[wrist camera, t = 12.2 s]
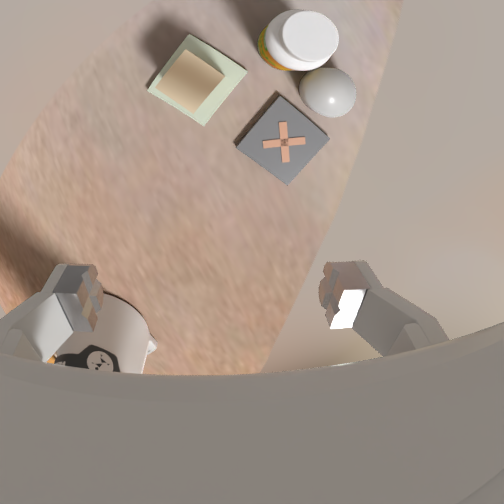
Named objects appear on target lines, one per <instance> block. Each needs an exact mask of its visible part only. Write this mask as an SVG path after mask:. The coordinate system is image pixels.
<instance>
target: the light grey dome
mask: <svg viewBox="0 0 504 504" xmlns="http://www.w3.org/2000/svg"><path fill="white" fill-rule="evenodd" d="M299 93H300V97H301V99H302V101H303V102H304V104H305V105H306V106H307V107H308V108H310V109H311V110H313V111H315V112H317V113H319V114H321V115H323V116H326V117H339V116H342V115H344V114H346V113H347V112H348V111H349V110H350V109H351V108H352V107H353V105H354V103H355V100H356V88H355V85H354V82H353V80H352V79H351V78H350V77H349V75H347V74H346V73H345V72H343V71H341V70H339V69H336V68H315V69H312V70H310V71H308V72H307V73H306V74H305V75H304V76H303V77H302V79H301V82H300V85H299Z"/></svg>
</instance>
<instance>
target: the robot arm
mask: <svg viewBox="0 0 504 504" xmlns="http://www.w3.org/2000/svg"><path fill="white" fill-rule="evenodd" d="M323 272H324V275H325V277H324V278H323V279H322V280H321V281H320V286H319V299H320V303H321V306H322V307H324V308H325V309H326V310H327V311H326V314H325V316H326V318H327V321H328V323H329V326H330V328H331V329H333V328H344V327H352V329H353V330H354V331H356V332H357V333H358V334H359V335H360V336H361V337H362V338H363V339H365V340H366V341H367V342H368V343H369V344H370V345H371V346H372V347H373V348H375V350H377V351H378V352H379V353H380V354H381V355H382V356H383V357H380V358H374V359H369V360H363V361H358V362H352V363H346V364H339V365H333V366H326V367H318V368H310V369H302V370H294V371H282V372H271V373H256V374H238V375H155V374H142V373H143V369H144V364H145V360H146V356H147V355H148V354H150V353H151V352H153V351H154V350H156V348H157V342H156V340H155V339H154V338H153V337H152V336H151V335H150V333H149V330H148V326H147V324H146V322H145V320H144V319H143V317H142V316H141V315H140V314H139V313H138V312H137V311H136V310H135V309H134V308H133V307H132V306H130V305H129V304H127V303H126V302H124V301H122V300H120V299H118V298H116V297H113V296H110V295H107V294H103V288H102V285H101V283H100V282H99V281H98V280H97V279H96V278H97V275H98V272H97V269H96V266H94V265H93V264H58V265H56V267H55V268H54V270H53V272H52V273H51V275H50V277H49V278H48V280H47V282H46V283H45V285H44V287H43V289H42V290H41V292H37V293H35V294H34V295H32V296H31V297H30V298H28V299H27V300H25V301H24V302H23V303H21V304H20V305H19V306H17V307H16V308H15V309H13V310H12V311H11V312H9V313H8V314H7V315H5V316H4V317H3V318H1V319H0V504H504V322H502V323H500V324H497V325H494V326H492V327H489V328H486V329H484V330H480V331H477V332H475V333H472V334H468V335H465V336H462V337H459V338H456V339H452V340H449V338H448V337H447V335H446V334H445V332H444V330H443V329H442V327H441V326H440V324H439V322H438V321H437V319H436V318H435V317H433V316H432V315H430V314H429V313H427V312H425V311H424V310H422V309H421V308H419V307H417V306H416V305H414V304H413V303H411V302H409V301H408V300H406V299H405V298H403V297H401V296H400V295H398V294H397V293H395V292H393V291H392V290H390V289H388V288H384V287H383V286H382V284H381V283H380V281H379V280H378V279H377V277H376V275H375V274H374V272H373V271H372V269H371V268H370V266H369V265H368V263H367V262H366V261H364V260H362V261H351V262H327V263H326V264H325V266H324V270H323ZM55 352H56V354H57V358H56V360H55V363H54V364H52V363H46V362H47V361H48V360H49V358H50V357H51V356H52V355H53V354H54V353H55Z"/></svg>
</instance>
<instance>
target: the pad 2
mask: <svg viewBox="0 0 504 504" xmlns="http://www.w3.org/2000/svg"><path fill="white" fill-rule="evenodd" d="M329 139H330V138H329V137H328V136H326V135H325V134H324V133H323V132H322V131H321V130H320V129H319V128H318V127H317V126H315V125H314V124H313V123H312V122H311V121H310V120H309V119H307V118H306V117H305V116H304V115H303V114H302V113H300V112H299V111H298V110H297V109H296V108H294V107H293V106H292V105H291V104H289V103H288V102H287V101H286V100H285V99H283V98H282V97H281V96H278V97H277V99H276V100H275V101H274V102H273V103H272V104H271V105H270V106H269V108H268V109H267V110H266V111H265V112H264V113H263V115H262V116H261V117H260V118H259V119H258V120H257V122H256V123H255V124H254V125H253V126H252V128H251V129H250V130H249V131H248V132H247V134H246V135H245V136H244V137H243V139H242V140H241V141H240V142H239V143H238V145H237V146H236V148H237V149H238V150H240V151H241V152H243V153H244V154H245V155H247V156H248V157H250V158H251V159H252V160H254V161H255V162H257V163H258V164H259V165H261V166H262V167H263V168H265V169H266V170H267V171H269V172H270V173H272V174H273V175H274V176H276V177H277V178H278V179H280V180H281V181H282V182H284V183H285V184H286V185H288V184H289V183H290V182H291V181H292V180H293V179H294V178H295V177H296V176H297V174H298V173H299V172H300V171H301V170H302V169H303V168H304V167H305V166H306V165H307V163H308V162H309V161H310V160H311V159H312V158H313V157H314V156H315V155H316V154H317V152H318V151H319V150H320V149H321V148H322V147H323V146H324V145H325V144H326V143H327V142H328V141H329Z"/></svg>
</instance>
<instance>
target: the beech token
mask: <svg viewBox="0 0 504 504" xmlns="http://www.w3.org/2000/svg"><path fill="white" fill-rule="evenodd" d="M224 77H225V76H224V75H223V74H222V73H220V72H219V71H218V70H216V69H215V68H213V67H212V66H211V65H209V64H208V63H206V62H205V61H203V60H202V59H201V58H199V57H198V56H196V55H195V54H193V53H192V52H190V51H188V50H186V49H185V50H184V52H183V53H182V54H181V55H180V56H179V58H178V59H177V60H176V61H175V62H174V64H173V65H172V66H171V67H170V69H169V70H168V71H167V72H166V74H165V75H164V76H163V77H162V79H161V80H160V81H159V83H158V84H157V85H156V87H155V88H156V89H158V90H159V91H161V92H162V93H164V94H165V95H167V96H168V97H170V98H171V99H172V100H174V101H175V102H177V103H178V104H180V105H181V106H183V107H184V108H186V109H187V110H188V111H190V112H191V113H193V114H194V112H195V111H196V110H197V109H198V108H199V106H200V105H201V104H202V103H203V101H204V100H205V99H206V98H207V97H208V96H209V94H210V93H211V92H212V91H213V90H214V89H215V87H216V86H217V85H218V84H219V83H220V82H221V81H222V79H223V78H224Z"/></svg>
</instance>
